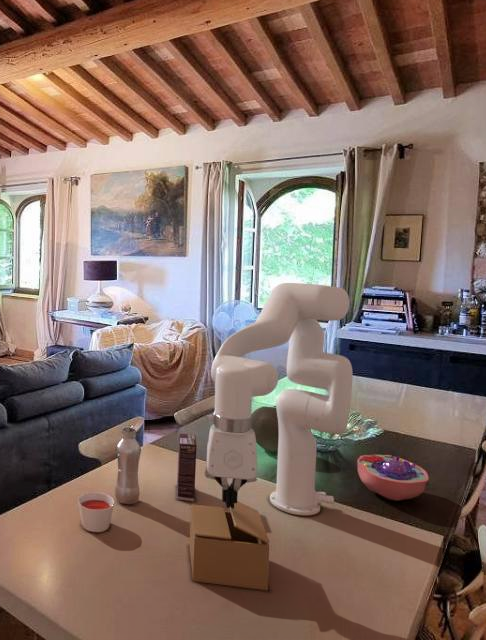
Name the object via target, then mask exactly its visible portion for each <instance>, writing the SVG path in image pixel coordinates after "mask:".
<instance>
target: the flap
mask: <svg viewBox="0 0 486 640" xmlns="http://www.w3.org/2000/svg"><path fill="white" fill-rule="evenodd" d="M229 510H230V511H229V512H231V514H232V518H233V522H234V525H235V527H236V528H238V529H240V530H242V531H244V532H246V533H248V534H250V535H252V536H254V537H256V538H258V539H260V540H262V541H264V542H267V543H268V544H270V540H269V537H268V535H267V531H266V529H265V525H264V523H263V521H262V517H261V516H260V512H259V510H257V509H255V508H253V507H250V506H249V505H246V504H244V503H242V502H240V501H238V500H237V503H234V509H232V508H229Z"/></svg>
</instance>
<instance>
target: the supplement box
mask: <svg viewBox="0 0 486 640" xmlns="http://www.w3.org/2000/svg"><path fill="white" fill-rule="evenodd" d="M197 447H198V444H197V437H196V434H190V433H179V435H178V455H177V456H178V458H177V459H178V460H177V478H176V482H177V483H176V497H177V498H176V499H177V500H179V501H187V502H195V493H196V471H197V469H196V468H197V466H196V465H197V449H198V448H197Z"/></svg>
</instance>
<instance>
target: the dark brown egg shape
mask: <svg viewBox="0 0 486 640" xmlns="http://www.w3.org/2000/svg"><path fill="white" fill-rule="evenodd" d="M251 429H253V431H254V432H255V437H256V445H258V446H259V447H260V448H261V449H263V450H265V451H267V452H269V453H278V440H279V426H278V417H277V410H276V407H274V406H261V407H258V408H256V409H255V410H254V411H253V412H251Z"/></svg>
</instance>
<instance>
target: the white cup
mask: <svg viewBox="0 0 486 640" xmlns="http://www.w3.org/2000/svg"><path fill="white" fill-rule="evenodd" d="M77 505H78V510H79V511H78V512H79V516H80V522H81V526H82V528H83V529H84V530H86V531H88V532H91V533H101V532H106V530H108V529H109V528H110V525H111V520H112V515H113V510H114V506H115V500H114V498H113V497H112V496H111V495H109V494H107V493H104V492H99V491H98V492H95V491H92V492H86V493H83V494H81V495H79V496H78V498H77Z"/></svg>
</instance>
